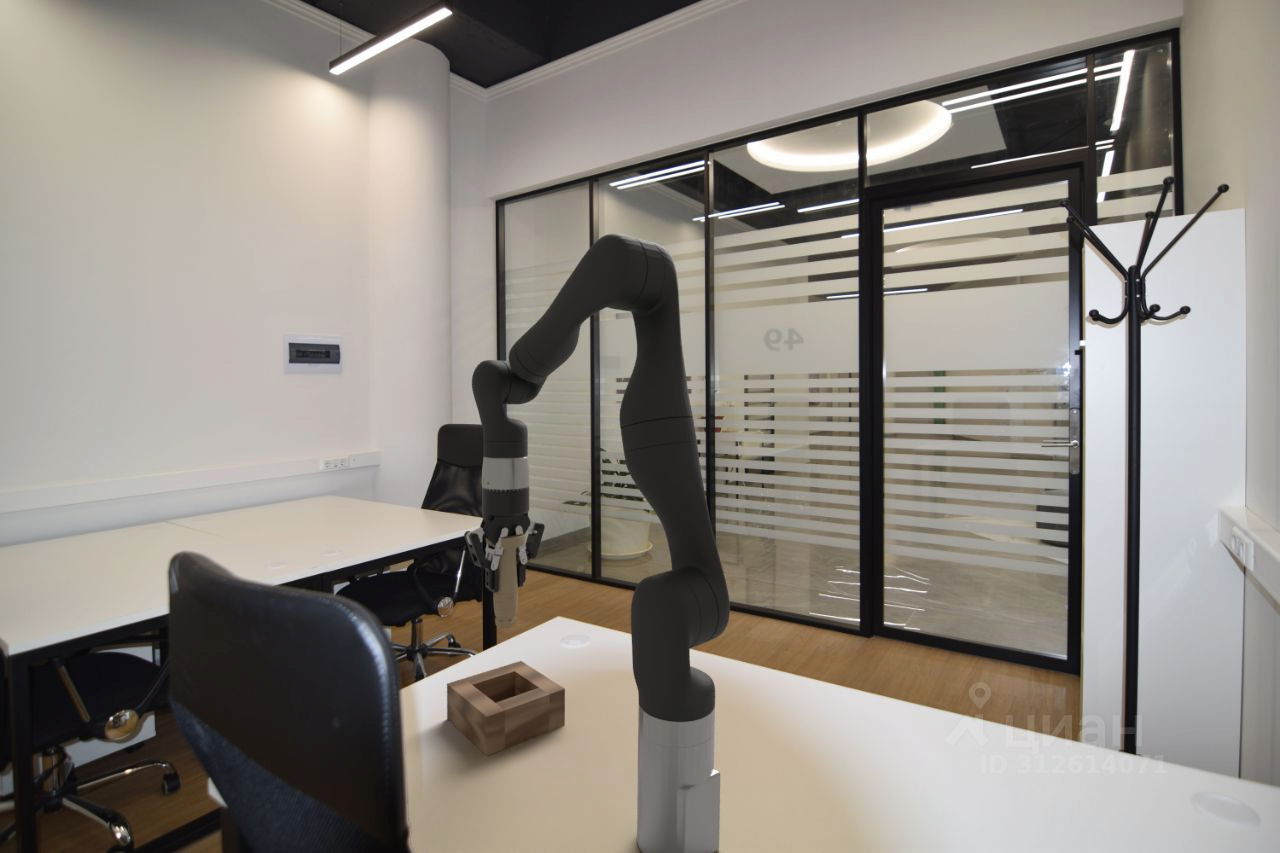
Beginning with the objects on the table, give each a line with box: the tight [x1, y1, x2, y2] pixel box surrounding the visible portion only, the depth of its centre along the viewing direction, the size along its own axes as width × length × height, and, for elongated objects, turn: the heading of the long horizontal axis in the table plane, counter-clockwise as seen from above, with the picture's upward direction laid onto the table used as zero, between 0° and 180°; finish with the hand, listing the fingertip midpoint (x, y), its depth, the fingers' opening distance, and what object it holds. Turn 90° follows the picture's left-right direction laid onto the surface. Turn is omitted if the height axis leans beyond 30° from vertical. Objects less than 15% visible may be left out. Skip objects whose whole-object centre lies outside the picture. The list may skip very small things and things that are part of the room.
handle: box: [485, 533, 526, 629], centre depth 102 cm, size 5×6×15 cm
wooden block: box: [446, 660, 566, 757], centre depth 103 cm, size 14×14×6 cm
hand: (505, 588), depth 102 cm, fingers closed on handle, 4 cm apart
